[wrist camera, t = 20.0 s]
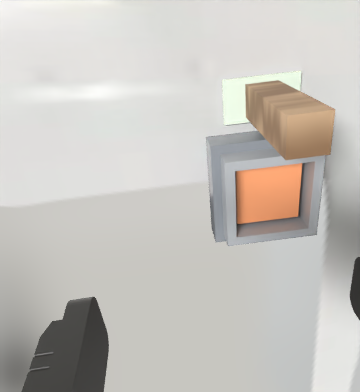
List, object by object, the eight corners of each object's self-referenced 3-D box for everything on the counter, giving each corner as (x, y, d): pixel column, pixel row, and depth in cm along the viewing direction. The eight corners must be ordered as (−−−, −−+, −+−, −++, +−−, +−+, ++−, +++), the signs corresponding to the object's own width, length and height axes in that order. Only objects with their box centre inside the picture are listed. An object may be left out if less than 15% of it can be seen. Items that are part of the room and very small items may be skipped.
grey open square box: (205, 137, 37) (213, 154, 32) (314, 123, 37) (337, 139, 33) (211, 228, 43) (219, 254, 38) (305, 216, 43) (324, 240, 38)
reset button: (230, 157, 38) (236, 167, 35) (291, 149, 38) (302, 159, 35) (231, 210, 41) (237, 224, 39) (288, 203, 41) (297, 216, 39)
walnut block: (245, 84, 34) (287, 115, 24) (278, 80, 34) (335, 109, 24) (245, 117, 36) (285, 160, 25) (277, 113, 36) (330, 154, 26)
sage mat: (221, 79, 34) (222, 80, 34) (299, 70, 35) (301, 71, 34) (223, 124, 37) (224, 125, 36) (297, 115, 37) (298, 116, 36)
